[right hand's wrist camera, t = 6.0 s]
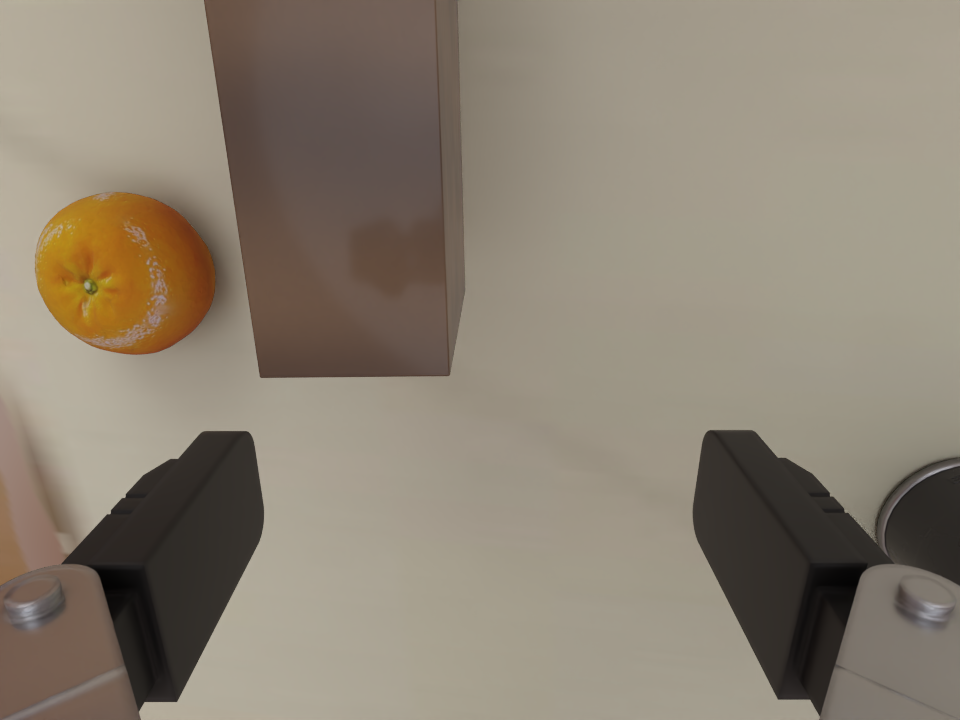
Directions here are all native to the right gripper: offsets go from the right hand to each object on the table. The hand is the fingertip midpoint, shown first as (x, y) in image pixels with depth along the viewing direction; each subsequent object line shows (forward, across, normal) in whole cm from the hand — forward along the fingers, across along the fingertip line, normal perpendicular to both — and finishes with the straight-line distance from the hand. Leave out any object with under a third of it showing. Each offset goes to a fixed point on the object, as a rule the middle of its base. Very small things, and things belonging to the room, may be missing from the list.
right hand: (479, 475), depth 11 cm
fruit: (+27, -19, -2) cm, 33 cm away
